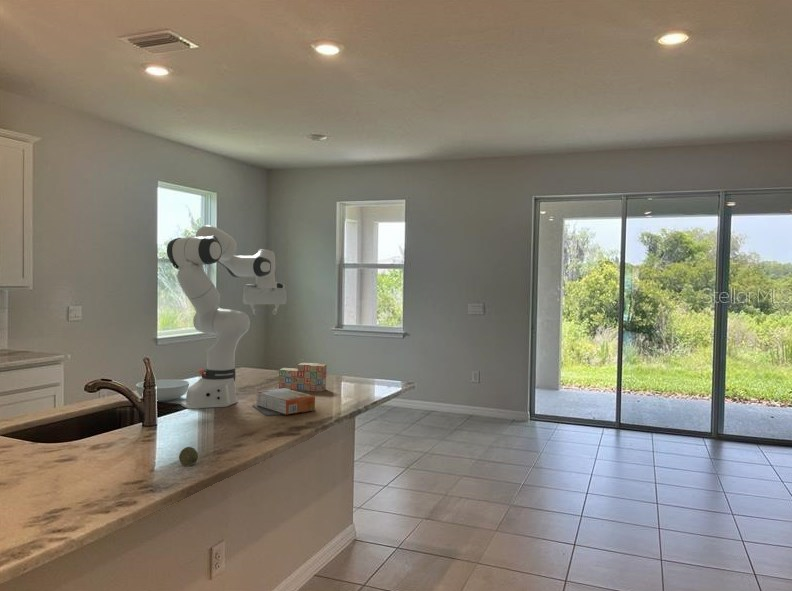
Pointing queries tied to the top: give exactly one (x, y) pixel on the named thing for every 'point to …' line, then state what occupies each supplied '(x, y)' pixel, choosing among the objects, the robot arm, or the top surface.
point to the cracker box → (285, 401)
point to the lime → (188, 456)
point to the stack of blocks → (304, 377)
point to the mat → (269, 411)
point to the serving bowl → (167, 389)
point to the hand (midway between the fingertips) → (264, 314)
